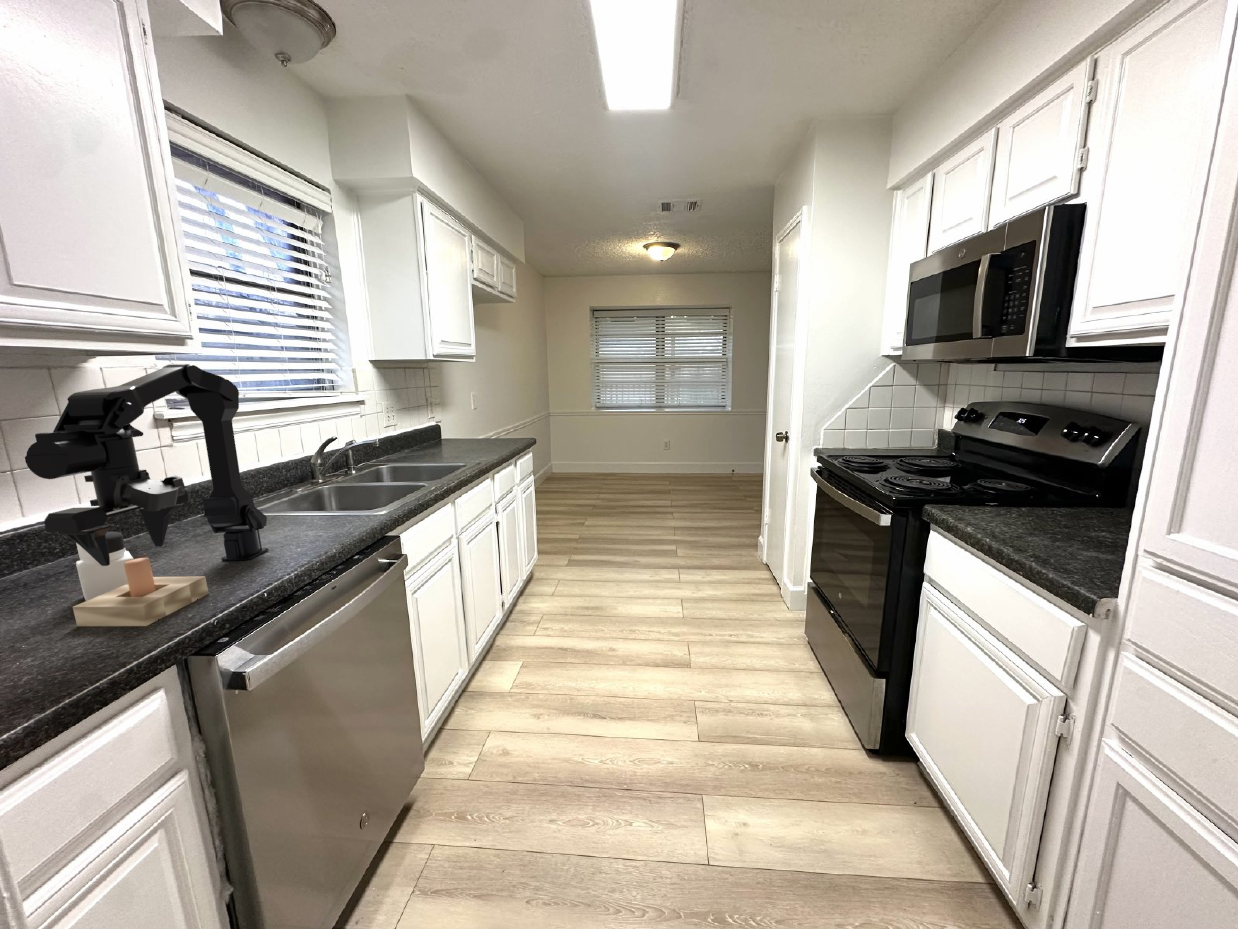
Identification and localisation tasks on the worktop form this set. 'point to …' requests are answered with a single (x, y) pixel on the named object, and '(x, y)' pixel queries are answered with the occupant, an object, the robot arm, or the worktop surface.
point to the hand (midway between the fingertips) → (134, 555)
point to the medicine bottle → (103, 568)
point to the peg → (139, 577)
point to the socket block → (140, 603)
